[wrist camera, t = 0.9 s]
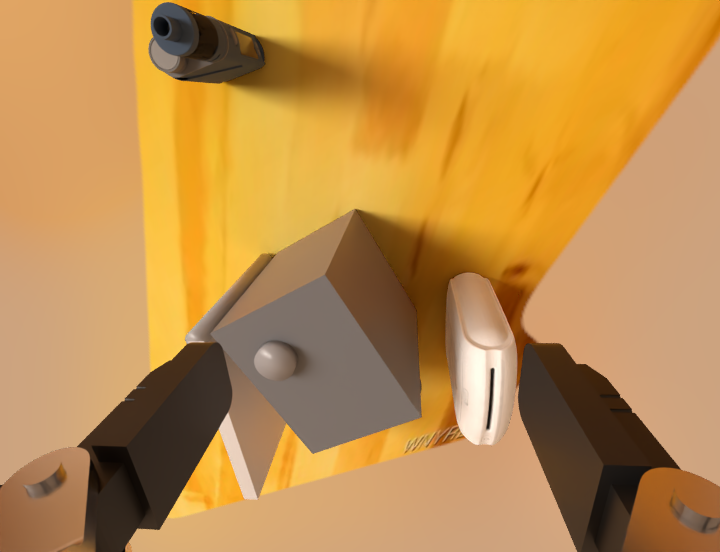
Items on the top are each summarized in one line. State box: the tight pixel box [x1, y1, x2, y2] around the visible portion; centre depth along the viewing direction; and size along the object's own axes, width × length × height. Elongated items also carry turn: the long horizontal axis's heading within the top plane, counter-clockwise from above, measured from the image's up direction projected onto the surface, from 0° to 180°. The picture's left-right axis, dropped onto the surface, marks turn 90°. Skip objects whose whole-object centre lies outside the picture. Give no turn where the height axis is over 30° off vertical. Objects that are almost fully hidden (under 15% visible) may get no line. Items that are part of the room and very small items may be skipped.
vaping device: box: [149, 2, 265, 83], centre depth 24 cm, size 3×5×12 cm, turn 107°
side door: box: [185, 254, 286, 500], centre depth 34 cm, size 2×17×14 cm, turn 6°
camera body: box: [210, 209, 422, 454], centre depth 31 cm, size 9×14×15 cm, turn 31°
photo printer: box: [446, 273, 517, 445], centre depth 32 cm, size 10×4×12 cm, turn 4°
